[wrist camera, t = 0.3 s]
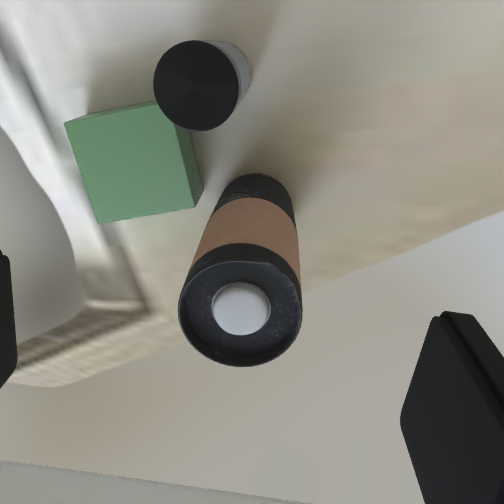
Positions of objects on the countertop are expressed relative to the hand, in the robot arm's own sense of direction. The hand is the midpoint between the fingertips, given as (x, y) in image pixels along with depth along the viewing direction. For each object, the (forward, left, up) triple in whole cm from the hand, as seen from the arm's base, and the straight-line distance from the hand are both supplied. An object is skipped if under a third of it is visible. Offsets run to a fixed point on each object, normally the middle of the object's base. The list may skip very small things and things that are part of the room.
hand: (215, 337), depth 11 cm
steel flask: (-3, -4, -35) cm, 36 cm away
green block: (+5, -10, -35) cm, 37 cm away
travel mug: (+9, +1, -35) cm, 37 cm away
